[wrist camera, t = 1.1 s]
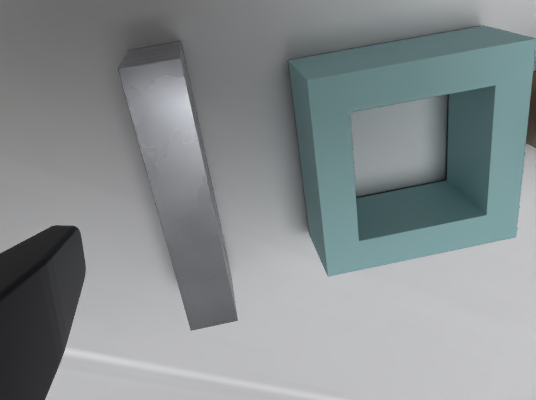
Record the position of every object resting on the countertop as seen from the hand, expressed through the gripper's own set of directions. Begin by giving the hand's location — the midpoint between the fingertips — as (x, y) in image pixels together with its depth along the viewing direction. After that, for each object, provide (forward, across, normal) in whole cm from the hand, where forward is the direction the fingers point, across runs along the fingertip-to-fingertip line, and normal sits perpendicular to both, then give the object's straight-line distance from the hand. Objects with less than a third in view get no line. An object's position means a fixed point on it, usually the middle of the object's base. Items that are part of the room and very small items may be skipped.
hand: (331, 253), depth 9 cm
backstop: (+12, +4, +4) cm, 14 cm away
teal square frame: (+13, -5, +3) cm, 14 cm away
